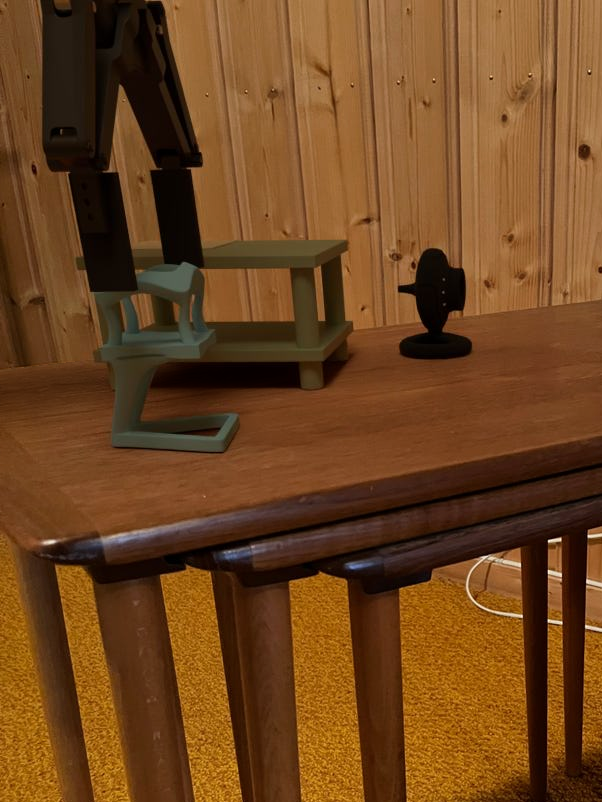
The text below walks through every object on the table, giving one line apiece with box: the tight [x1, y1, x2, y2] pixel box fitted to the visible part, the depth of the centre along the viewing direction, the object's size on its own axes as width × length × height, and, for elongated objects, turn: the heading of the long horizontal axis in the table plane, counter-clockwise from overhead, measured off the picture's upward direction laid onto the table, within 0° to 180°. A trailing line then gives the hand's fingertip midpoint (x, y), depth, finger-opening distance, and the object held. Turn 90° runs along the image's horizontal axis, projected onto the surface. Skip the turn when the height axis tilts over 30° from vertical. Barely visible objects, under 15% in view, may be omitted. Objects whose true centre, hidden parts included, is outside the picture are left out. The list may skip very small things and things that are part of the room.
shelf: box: [74, 239, 355, 391], centre depth 89 cm, size 20×16×11 cm
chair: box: [92, 262, 240, 453], centre depth 68 cm, size 8×8×12 cm
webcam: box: [397, 247, 473, 360], centre depth 98 cm, size 8×8×10 cm
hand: (153, 279), depth 65 cm, fingers open, 13 cm apart
